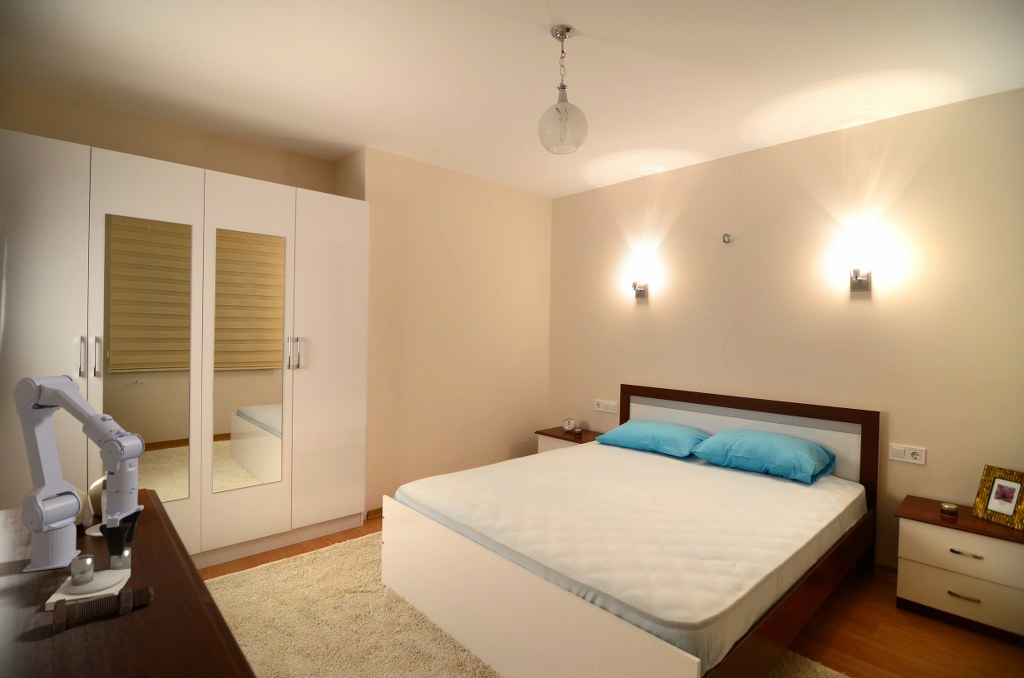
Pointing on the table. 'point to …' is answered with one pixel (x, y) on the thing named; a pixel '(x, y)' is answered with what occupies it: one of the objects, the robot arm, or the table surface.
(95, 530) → the white phone stand
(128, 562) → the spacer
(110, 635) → the table surface
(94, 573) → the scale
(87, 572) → the spacer
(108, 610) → the bolt
